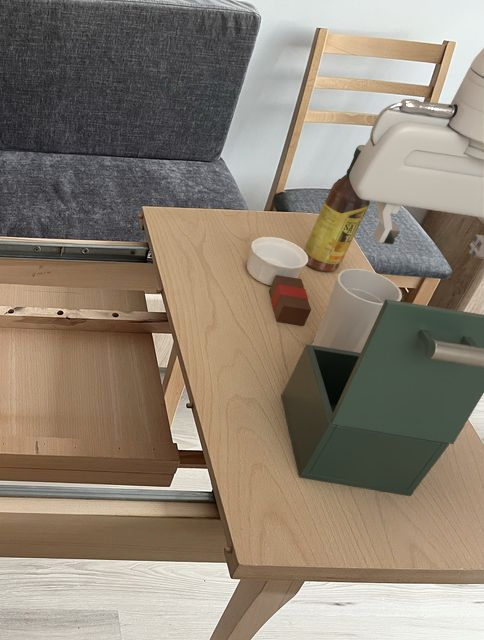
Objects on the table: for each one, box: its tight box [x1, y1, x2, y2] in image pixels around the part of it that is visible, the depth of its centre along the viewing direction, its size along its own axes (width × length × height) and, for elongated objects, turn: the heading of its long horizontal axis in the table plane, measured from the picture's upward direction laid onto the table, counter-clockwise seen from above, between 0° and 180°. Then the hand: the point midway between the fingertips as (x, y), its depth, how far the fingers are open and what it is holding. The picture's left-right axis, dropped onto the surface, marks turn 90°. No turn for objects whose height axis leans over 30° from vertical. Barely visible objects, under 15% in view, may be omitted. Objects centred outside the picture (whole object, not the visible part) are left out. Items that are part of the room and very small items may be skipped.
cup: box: [311, 267, 403, 353], centre depth 93 cm, size 8×8×12 cm
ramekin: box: [246, 236, 308, 287], centre depth 110 cm, size 9×9×4 cm
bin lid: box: [330, 299, 484, 445], centre depth 67 cm, size 15×13×5 cm
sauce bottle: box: [303, 144, 371, 272], centre depth 109 cm, size 6×6×20 cm
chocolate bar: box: [268, 275, 312, 327], centre depth 103 cm, size 4×8×3 cm, turn 172°
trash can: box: [280, 344, 450, 497], centre depth 81 cm, size 14×13×9 cm
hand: (429, 248), depth 69 cm, fingers open, 8 cm apart
